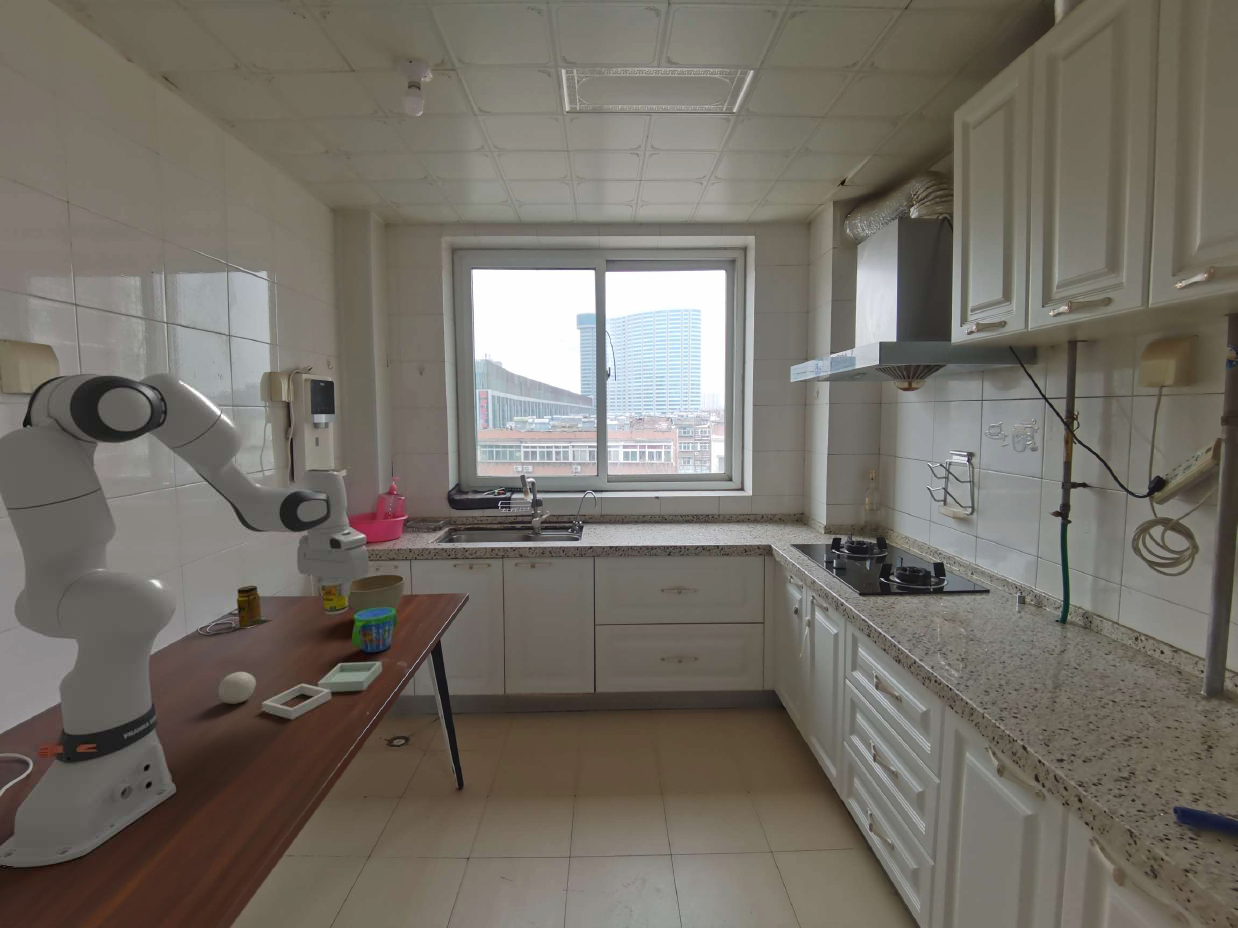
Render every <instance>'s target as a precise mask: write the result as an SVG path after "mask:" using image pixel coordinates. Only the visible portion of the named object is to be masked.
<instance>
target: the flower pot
mask: <svg viewBox="0 0 1238 928" xmlns="http://www.w3.org/2000/svg"><path fill="white" fill-rule="evenodd" d="M404 588H405V577H404V576H402V575H398V574H376V575H370V576H367V577H365V578H362V579H359V580H353V581H352V584H351V586H350V595H348V596H347V597H348V608H349V609H350V610H351V612H352V613H353V615H355V614H357V613H358V612H360V611H363V610H367V609H371V608H378V607H389V608H393V609H394V610H395V612H396V610H397V609H398V607H399V605H400V603H401V601H402V598H403V594H404Z"/></svg>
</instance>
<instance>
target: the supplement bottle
mask: <svg viewBox="0 0 1238 928" xmlns="http://www.w3.org/2000/svg"><path fill="white" fill-rule="evenodd" d="M324 579H325V580H323V581H322V593H321V595H322V603H323V612H324V613H325V614H327V615H337V614H341V613H344V612H346V611H347V610H348V608H349V606H348V597H347V596H346V597H344V596H340V595H339V589H341V588H342V585H343V583H341V579H340V578H332V577H329V576H328V575H326V574H325V576H324Z"/></svg>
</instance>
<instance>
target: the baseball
mask: <svg viewBox="0 0 1238 928" xmlns="http://www.w3.org/2000/svg"><path fill="white" fill-rule="evenodd" d="M256 685H257V681H256V678H255V677H254V676H253V675H252V674H250V673H248V672H246V671H236V672H233V673H230V674H228V675H227V676H225V677H224V678H223V679H222V681H221V682H220V684H219V685H218V695H219V698H220V699H221V700H222V702H224V703H225V704H229V705H230V704H231V705H235V704H236V705H237V704H240V703H242V702H245V701H246V700H248V699H249V698H250V697H251V696H252V695H253V693H254V691H255V688H256Z"/></svg>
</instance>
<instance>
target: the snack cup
mask: <svg viewBox="0 0 1238 928" xmlns="http://www.w3.org/2000/svg"><path fill="white" fill-rule="evenodd" d="M398 620H399V619H398V617H397V612H396V611H395V610H394V609H393V608H389V607H378V608H371V609H367V610H363V611H360V612H358V613H357V614H353V621H354V625H353V629H352V634H351V635H352V636H351V643H352V645H353V646H354V647H361V649H362V651H364V652H366V653H377V652H378V653H379V652H383V651H385V650H387V649H388V648H390V647H391V646H392V640H393V630H394V628H397V627H398V625H399V621H398Z"/></svg>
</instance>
